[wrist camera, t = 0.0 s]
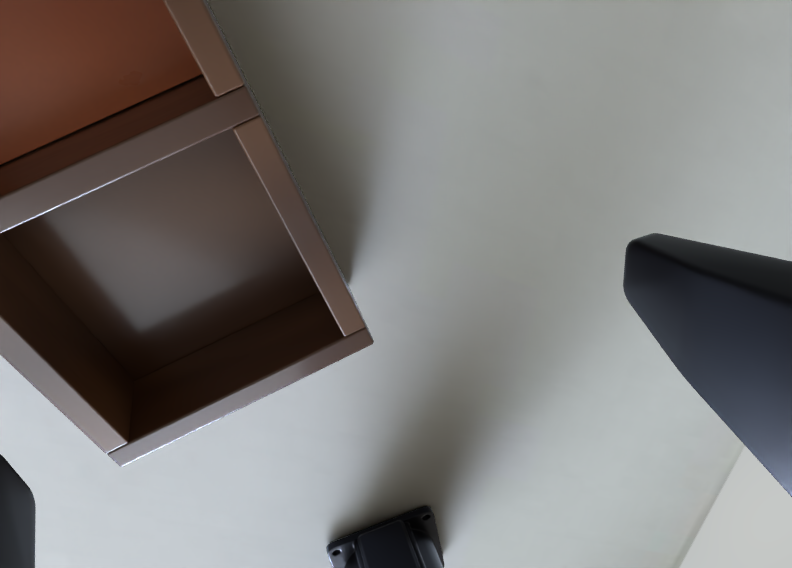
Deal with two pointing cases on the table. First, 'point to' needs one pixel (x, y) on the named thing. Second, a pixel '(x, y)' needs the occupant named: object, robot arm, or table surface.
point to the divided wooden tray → (152, 226)
